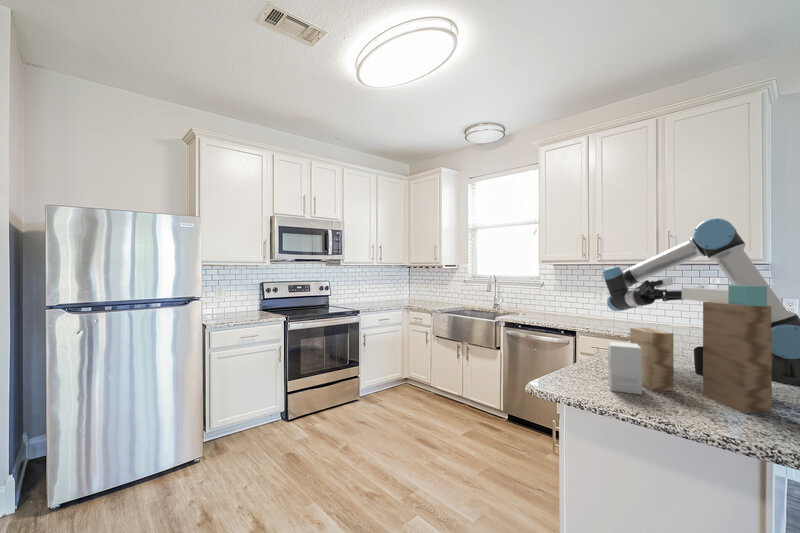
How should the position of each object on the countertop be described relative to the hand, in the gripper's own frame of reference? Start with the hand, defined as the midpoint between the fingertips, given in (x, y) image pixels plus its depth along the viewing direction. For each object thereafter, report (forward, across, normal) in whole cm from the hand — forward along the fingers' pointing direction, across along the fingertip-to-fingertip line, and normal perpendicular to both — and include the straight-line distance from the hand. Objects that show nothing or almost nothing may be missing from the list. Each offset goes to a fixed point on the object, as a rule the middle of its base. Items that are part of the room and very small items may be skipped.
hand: (687, 285), depth 135 cm
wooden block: (-7, +10, -38) cm, 40 cm away
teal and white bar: (+14, +5, -11) cm, 19 cm away
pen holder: (-14, -24, -28) cm, 39 cm away
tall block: (+12, -1, -41) cm, 42 cm away
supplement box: (-5, +22, -42) cm, 47 cm away
